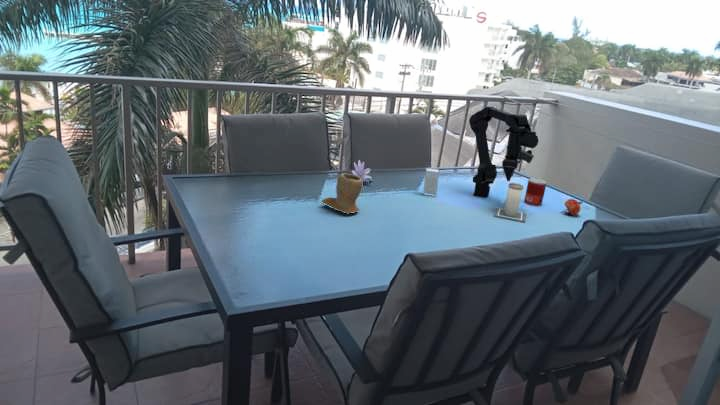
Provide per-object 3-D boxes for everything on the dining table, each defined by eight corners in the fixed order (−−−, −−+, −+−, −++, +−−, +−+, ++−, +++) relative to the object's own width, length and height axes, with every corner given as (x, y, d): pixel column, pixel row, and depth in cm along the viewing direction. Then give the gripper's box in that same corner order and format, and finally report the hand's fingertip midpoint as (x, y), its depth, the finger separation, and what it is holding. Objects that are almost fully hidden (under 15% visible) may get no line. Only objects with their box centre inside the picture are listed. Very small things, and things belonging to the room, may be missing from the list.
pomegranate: (564, 221, 213) (586, 211, 209) (556, 206, 213) (578, 196, 209) (564, 217, 220) (586, 208, 215) (556, 203, 220) (578, 194, 216)
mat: (493, 216, 204) (493, 215, 203) (495, 208, 214) (495, 207, 213) (525, 222, 200) (525, 221, 200) (526, 214, 210) (526, 213, 209)
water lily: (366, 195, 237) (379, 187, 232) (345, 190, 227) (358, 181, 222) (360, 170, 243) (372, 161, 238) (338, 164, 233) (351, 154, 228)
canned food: (542, 206, 222) (547, 184, 219) (525, 204, 224) (529, 181, 220) (540, 201, 229) (545, 179, 226) (523, 199, 231) (527, 177, 227)
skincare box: (435, 194, 227) (439, 169, 223) (436, 196, 223) (439, 172, 219) (422, 192, 227) (426, 168, 223) (423, 195, 223) (426, 170, 219)
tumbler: (500, 213, 206) (506, 184, 202) (507, 210, 210) (512, 182, 206) (513, 217, 203) (519, 188, 198) (519, 214, 207) (525, 186, 202)
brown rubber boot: (366, 212, 195) (369, 177, 190) (345, 218, 187) (348, 181, 182) (340, 201, 205) (343, 167, 200) (319, 206, 197) (321, 171, 192)
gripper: (532, 149, 198) (526, 186, 202) (535, 142, 214) (530, 176, 219) (504, 146, 202) (499, 182, 206) (510, 140, 218) (505, 173, 223)
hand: (509, 178), depth 213 cm, fingers open, 9 cm apart
